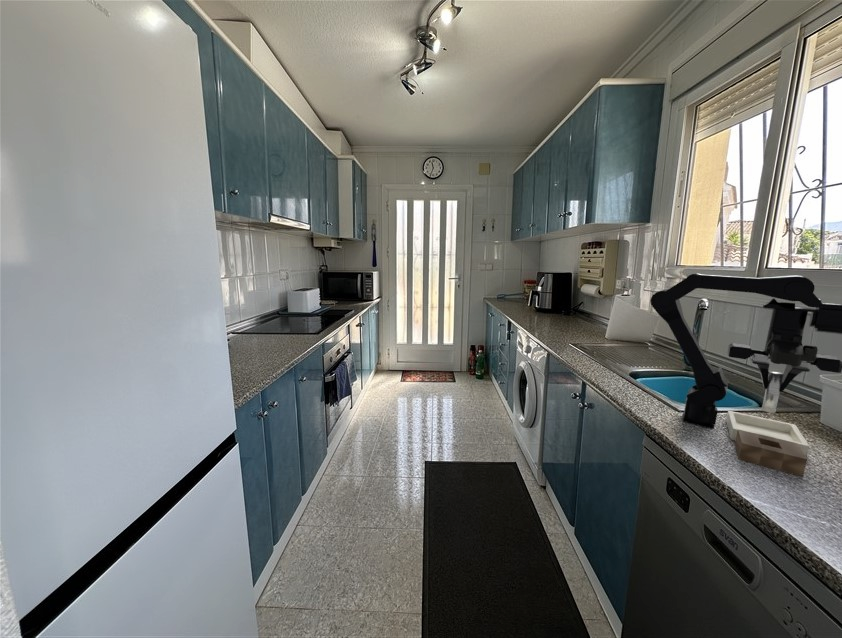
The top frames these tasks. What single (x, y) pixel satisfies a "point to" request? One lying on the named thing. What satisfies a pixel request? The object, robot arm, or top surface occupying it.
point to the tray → (765, 428)
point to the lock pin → (772, 391)
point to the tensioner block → (770, 452)
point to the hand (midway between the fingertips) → (772, 390)
